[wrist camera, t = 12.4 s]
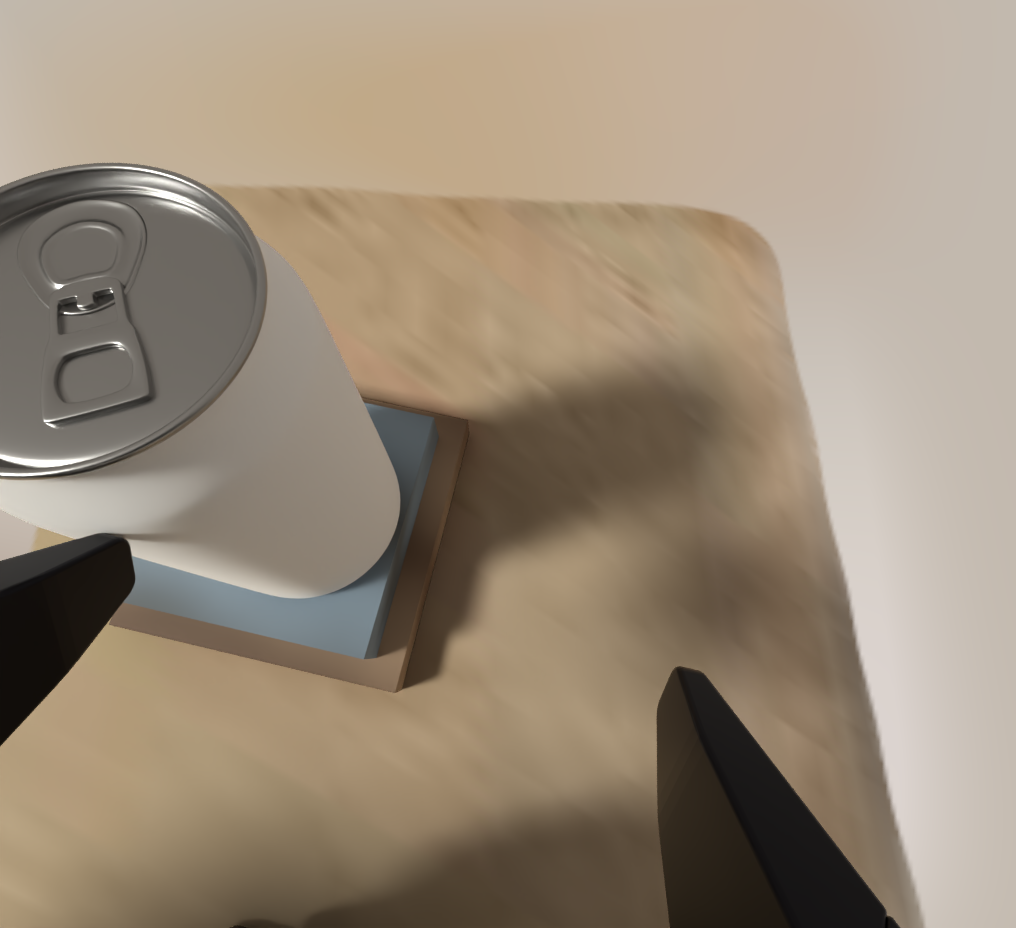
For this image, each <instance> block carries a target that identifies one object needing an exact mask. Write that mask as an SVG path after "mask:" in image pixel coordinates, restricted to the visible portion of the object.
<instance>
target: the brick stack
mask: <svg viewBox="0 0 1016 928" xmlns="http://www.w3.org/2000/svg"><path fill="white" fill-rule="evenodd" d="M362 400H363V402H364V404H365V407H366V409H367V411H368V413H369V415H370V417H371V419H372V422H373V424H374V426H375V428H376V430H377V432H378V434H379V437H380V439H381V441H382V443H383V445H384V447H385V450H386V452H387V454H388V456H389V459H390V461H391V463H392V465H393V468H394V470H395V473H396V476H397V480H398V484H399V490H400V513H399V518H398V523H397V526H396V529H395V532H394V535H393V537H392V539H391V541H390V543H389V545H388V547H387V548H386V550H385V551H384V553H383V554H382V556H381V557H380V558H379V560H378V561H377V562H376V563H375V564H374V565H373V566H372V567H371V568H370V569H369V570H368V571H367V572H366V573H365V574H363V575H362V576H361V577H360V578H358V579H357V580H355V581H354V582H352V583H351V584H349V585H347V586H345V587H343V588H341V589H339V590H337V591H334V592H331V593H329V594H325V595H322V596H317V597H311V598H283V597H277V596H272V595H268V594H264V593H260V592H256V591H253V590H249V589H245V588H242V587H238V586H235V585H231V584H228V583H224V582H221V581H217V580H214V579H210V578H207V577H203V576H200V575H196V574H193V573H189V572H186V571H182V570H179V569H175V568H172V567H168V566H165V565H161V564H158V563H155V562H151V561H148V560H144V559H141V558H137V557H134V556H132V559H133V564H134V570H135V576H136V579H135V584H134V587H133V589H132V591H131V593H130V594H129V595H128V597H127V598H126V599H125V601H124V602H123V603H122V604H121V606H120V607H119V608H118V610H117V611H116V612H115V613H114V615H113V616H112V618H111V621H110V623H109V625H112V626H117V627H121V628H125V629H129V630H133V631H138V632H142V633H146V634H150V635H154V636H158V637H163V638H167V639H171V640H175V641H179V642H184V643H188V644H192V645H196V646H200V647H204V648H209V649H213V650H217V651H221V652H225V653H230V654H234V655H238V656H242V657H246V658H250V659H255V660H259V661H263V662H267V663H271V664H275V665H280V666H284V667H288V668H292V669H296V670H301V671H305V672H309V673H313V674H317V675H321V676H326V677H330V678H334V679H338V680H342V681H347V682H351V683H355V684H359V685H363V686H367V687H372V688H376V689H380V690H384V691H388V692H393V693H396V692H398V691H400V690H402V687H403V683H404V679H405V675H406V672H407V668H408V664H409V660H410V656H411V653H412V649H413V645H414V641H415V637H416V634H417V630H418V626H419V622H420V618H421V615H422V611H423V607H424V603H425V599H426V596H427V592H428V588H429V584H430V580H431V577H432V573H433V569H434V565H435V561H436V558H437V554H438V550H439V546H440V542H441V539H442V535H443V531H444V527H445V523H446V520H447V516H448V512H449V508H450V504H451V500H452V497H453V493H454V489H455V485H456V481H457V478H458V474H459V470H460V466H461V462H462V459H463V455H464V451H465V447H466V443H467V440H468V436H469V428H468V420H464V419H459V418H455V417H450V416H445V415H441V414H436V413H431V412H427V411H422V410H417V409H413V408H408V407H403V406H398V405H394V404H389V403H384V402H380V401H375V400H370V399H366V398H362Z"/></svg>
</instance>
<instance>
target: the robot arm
mask: <svg viewBox="0 0 1016 928" xmlns="http://www.w3.org/2000/svg"><path fill="white" fill-rule="evenodd" d="M135 579H136V576H135V570H134V564H133V559H132V553H131V547H130V544H129V542H128V541H127V540H126V539H124V538H122V537H119V536H114V535H110V534H105V533H97V534H93V535H90V536H86V537H83V538H79V539H76V540H72V541H69V542H65V543H62V544H58V545H55V546H51V547H48V548H44V549H41V550H37V551H34V552H30V553H27V554H24V555H20V556H16V557H13V558H9V559H6V560H2V561H0V746H1V745H2V744H3V743H4V742H5V741H6V740H7V739H8V737H9V736H10V735H11V734H12V733H13V732H14V731H15V730H16V729H17V728H18V727H19V726H20V725H21V723H22V722H23V721H24V720H25V719H26V718H27V717H28V716H29V715H30V714H31V713H32V712H33V711H34V709H35V708H36V707H37V706H38V705H39V704H40V703H41V702H42V701H43V700H44V699H45V698H46V697H47V695H48V694H49V693H50V692H51V691H52V690H53V689H54V688H55V687H56V686H57V685H58V683H59V682H60V681H61V680H62V679H63V678H64V677H65V676H66V674H67V673H68V672H69V671H70V670H71V668H72V667H73V666H74V665H75V663H76V662H77V661H78V660H79V659H80V657H81V656H82V655H83V653H84V652H85V651H86V650H87V648H88V647H89V646H90V644H91V643H92V642H93V641H94V639H95V638H96V637H97V635H98V634H99V633H100V632H101V630H102V629H103V628H104V626H105V625H106V624H107V622H108V621H109V620H110V619H111V617H112V616H113V615H114V613H115V612H116V611H117V610H118V608H119V607H120V606H121V604H122V603H123V602H124V601H125V599H126V598H127V597H128V595H129V594H130V593H131V591H132V589H133V587H134V584H135ZM657 803H658V824H659V835H660V844H661V853H662V862H663V870H664V879H665V888H666V897H667V905H668V914H669V923H670V928H900V927H899V925H898V924H897V923H896V922H895V920H894V919H893V918H892V917H890V916H887V912H886V909H885V908H884V906H883V905H882V904H881V902H880V901H879V900H878V899H877V897H876V896H875V895H874V893H873V892H872V891H871V889H870V888H869V887H868V886H867V884H866V883H865V882H864V880H863V879H862V878H861V876H860V875H859V874H858V873H857V871H856V870H855V869H854V867H853V866H852V865H851V863H850V862H849V861H848V860H847V858H846V857H845V856H844V854H843V853H842V852H841V850H840V849H839V848H838V847H837V845H836V844H835V843H834V841H833V840H832V839H831V837H830V836H829V835H828V834H827V832H826V831H825V830H824V828H823V827H822V826H821V825H820V823H819V822H818V821H817V819H816V818H815V817H814V815H813V814H812V813H811V812H810V810H809V809H808V808H807V806H806V805H805V804H804V802H803V801H802V800H801V799H800V797H799V796H798V795H797V793H796V792H795V791H794V789H793V788H792V787H791V786H790V784H789V783H788V782H787V780H786V779H785V778H784V776H783V775H782V774H781V773H780V771H779V770H778V769H777V767H776V766H775V765H774V764H773V762H772V761H771V760H770V758H769V757H768V756H767V754H766V753H765V752H764V751H763V749H762V748H761V747H760V745H759V744H758V743H757V741H756V740H755V739H754V738H753V736H752V735H751V734H750V732H749V731H748V730H747V728H746V727H745V726H744V725H743V723H742V722H741V721H740V719H739V718H738V717H737V715H736V714H735V713H734V712H733V710H732V709H731V708H730V706H729V705H728V704H727V703H726V701H725V700H724V699H723V697H722V696H721V695H720V693H719V692H718V691H717V690H716V688H715V687H714V686H713V684H712V683H711V682H710V680H709V679H708V678H707V677H706V675H705V674H704V673H702V672H701V671H698V670H694V669H689V668H685V667H681V666H679V667H675V668H674V669H673V671H672V673H671V675H670V677H669V679H668V682H667V684H666V686H665V689H664V691H663V693H662V696H661V698H660V700H659V704H658V708H657ZM230 928H247V927H243V926H233V927H230Z"/></svg>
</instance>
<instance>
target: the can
mask: <svg viewBox="0 0 1016 928" xmlns="http://www.w3.org/2000/svg"><path fill="white" fill-rule="evenodd" d="M0 509H1V510H2V511H4V512H6V513H8V514H10V515H12V516H14V517H16V518H19V519H21V520H23V521H25V522H27V523H30V524H32V525H35V526H38V527H40V528H43V529H46V530H49V531H52V532H55V533H58V534H61V535H64V536H67V537H71V538H74V539H79V538H83V537H86V536H90V535H93V534H97V533H105V534H110V535H114V536H119V537H122V538H124V539H126V540H127V541H128V542H129V544H130V547H131V553H132V556H134V557H137V558H141V559H144V560H148V561H151V562H155V563H158V564H161V565H165V566H168V567H172V568H175V569H179V570H182V571H186V572H189V573H193V574H196V575H200V576H203V577H207V578H210V579H214V580H217V581H221V582H224V583H228V584H231V585H235V586H238V587H242V588H245V589H249V590H253V591H256V592H260V593H264V594H268V595H272V596H277V597H283V598H311V597H317V596H322V595H325V594H329V593H331V592H334V591H337V590H339V589H341V588H343V587H345V586H347V585H349V584H351V583H352V582H354V581H355V580H357V579H358V578H360V577H361V576H362V575H363V574H365V573H366V572H367V571H368V570H369V569H370V568H371V567H372V566H373V565H374V564H375V563H376V562H377V561H378V560H379V558H380V557H381V556H382V554H383V553H384V551H385V550H386V548H387V547H388V545H389V543H390V541H391V539H392V537H393V535H394V532H395V529H396V526H397V523H398V518H399V513H400V490H399V484H398V480H397V476H396V473H395V470H394V468H393V465H392V463H391V461H390V459H389V456H388V454H387V452H386V450H385V447H384V445H383V443H382V441H381V439H380V437H379V434H378V432H377V430H376V428H375V426H374V424H373V422H372V419H371V417H370V415H369V413H368V411H367V409H366V407H365V404H364V402H363V400H362V398H361V396H360V394H359V392H358V390H357V388H356V385H355V383H354V381H353V379H352V377H351V375H350V373H349V371H348V369H347V367H346V364H345V362H344V360H343V358H342V356H341V354H340V352H339V350H338V348H337V346H336V343H335V341H334V339H333V337H332V335H331V333H330V331H329V329H328V327H327V325H326V323H325V321H324V319H323V317H322V315H321V313H320V311H319V309H318V307H317V305H316V303H315V302H314V300H313V298H312V296H311V294H310V292H309V290H308V289H307V287H306V286H305V284H304V283H303V281H302V280H301V278H300V277H299V275H298V274H297V272H296V271H295V270H294V269H293V267H292V266H291V265H290V264H289V263H288V262H287V261H286V260H285V258H284V257H282V256H281V255H280V254H279V253H278V252H277V251H276V250H275V249H273V248H272V247H271V246H270V245H269V244H267V243H266V242H264V241H263V240H262V239H260V238H259V237H257V236H256V235H254V233H253V232H252V230H251V228H250V227H249V225H248V224H247V222H246V221H245V220H244V218H243V217H242V216H241V215H240V214H239V212H238V211H237V210H236V209H235V208H234V207H233V206H232V205H231V204H230V203H229V202H228V201H226V200H225V199H224V198H223V197H221V196H220V195H219V194H217V193H216V192H214V191H213V190H211V189H210V188H208V187H206V186H205V185H203V184H201V183H199V182H197V181H195V180H193V179H191V178H188V177H186V176H183V175H181V174H178V173H175V172H172V171H168V170H164V169H160V168H155V167H151V166H145V165H138V164H127V163H94V164H83V165H75V166H68V167H63V168H58V169H53V170H49V171H45V172H41V173H38V174H34V175H31V176H28V177H25V178H22V179H19V180H16V181H14V182H11V183H9V184H7V185H4V186H2V187H0Z"/></svg>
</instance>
